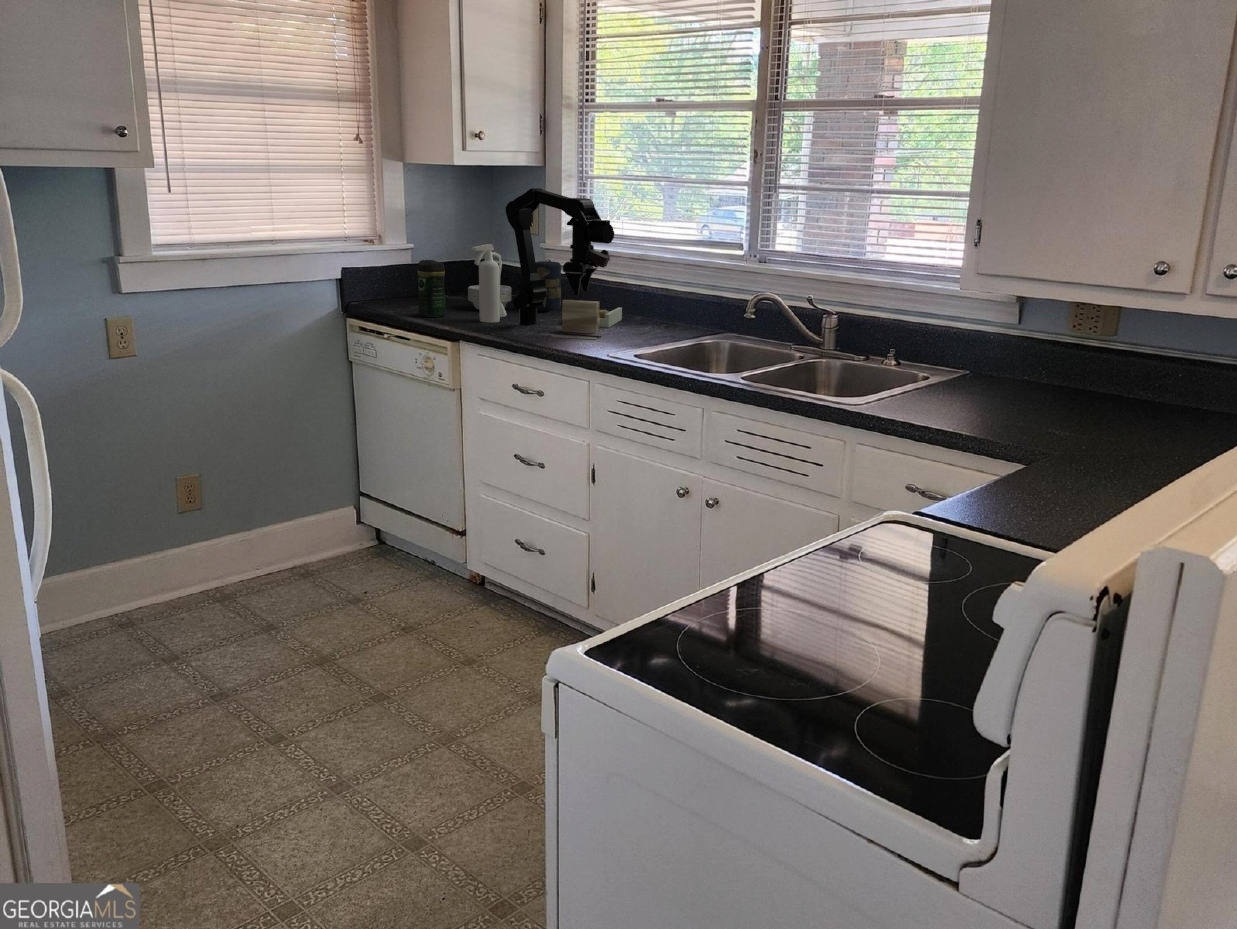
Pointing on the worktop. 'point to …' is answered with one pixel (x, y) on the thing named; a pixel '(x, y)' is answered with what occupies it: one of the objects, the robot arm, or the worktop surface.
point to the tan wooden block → (580, 316)
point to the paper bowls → (504, 297)
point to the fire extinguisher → (489, 285)
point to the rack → (611, 318)
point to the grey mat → (576, 336)
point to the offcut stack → (602, 313)
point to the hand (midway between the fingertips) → (581, 293)
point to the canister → (550, 284)
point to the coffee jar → (431, 288)
